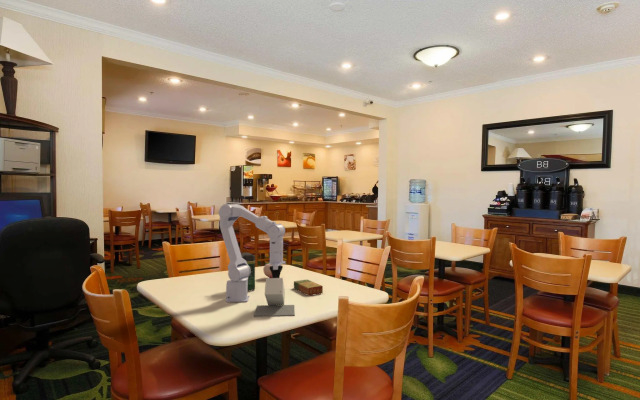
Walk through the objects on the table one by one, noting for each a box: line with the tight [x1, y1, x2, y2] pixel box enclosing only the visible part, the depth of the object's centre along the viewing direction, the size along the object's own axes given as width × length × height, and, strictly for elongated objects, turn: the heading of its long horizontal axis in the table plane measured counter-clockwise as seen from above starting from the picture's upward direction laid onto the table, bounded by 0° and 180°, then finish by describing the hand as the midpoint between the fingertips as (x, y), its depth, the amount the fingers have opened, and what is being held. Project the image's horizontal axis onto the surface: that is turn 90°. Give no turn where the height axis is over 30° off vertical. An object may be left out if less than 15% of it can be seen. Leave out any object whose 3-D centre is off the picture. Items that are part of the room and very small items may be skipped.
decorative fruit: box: [263, 261, 273, 278], centre depth 207 cm, size 9×8×10 cm
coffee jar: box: [240, 252, 256, 292], centre depth 183 cm, size 10×8×19 cm
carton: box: [293, 279, 324, 296], centre depth 182 cm, size 8×16×4 cm, turn 30°
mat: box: [253, 304, 296, 317], centre depth 150 cm, size 16×13×1 cm
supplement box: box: [264, 277, 286, 305], centre depth 154 cm, size 7×7×13 cm
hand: (276, 282), depth 158 cm, fingers closed
